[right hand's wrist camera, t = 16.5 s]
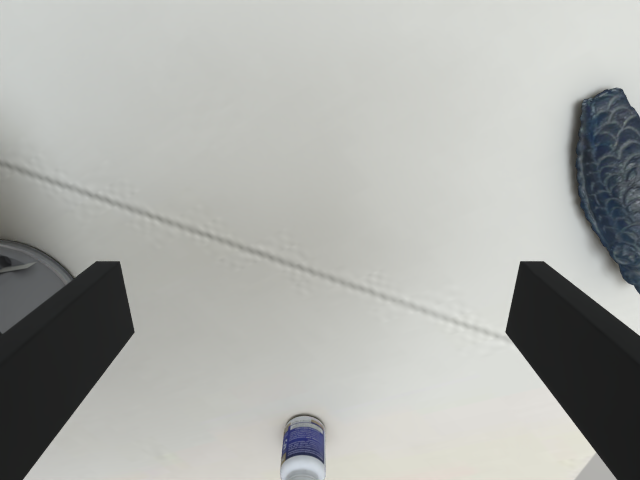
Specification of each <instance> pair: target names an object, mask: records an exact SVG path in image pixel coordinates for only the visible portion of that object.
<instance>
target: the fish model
mask: <svg viewBox="0 0 640 480" xmlns="http://www.w3.org/2000/svg"><path fill="white" fill-rule="evenodd" d="M581 109H582V115H581V117H580V120H581V127H580V130H579V133H578V135H579V138H580V139H579V142H578V144H577V148H576V153H577V155H578V156H577V159H576V165H575V167H576V168H577V171H578V173H577V181H578V183H579V186H578V191H579V196H580V197H581V204H580V206H581V208H582V209H583V210H584V211H585V217H586V219H587V220H588V221H589V222H590V223H591V224H592V229H593V231H595V232H596V234H597V235H598V236H599V238H600V240H601V242H602V243H603V246H605V247H606V248H607V250H608V251H609V254H610V256H611V257H612V258H613V259H614V260H615V261H616V262H617V263H618V264H619V267H620V271H621V274H622V276H623V279H624V280H625V281H626V282H628V283H629V284H631V285H634V287H635V288H636V290H637V291H638V293H639V294H640V117H639V115H638V113H637V112H636V111H635V109H634V108H633V107H631V106H630V104H629V102H628V100H627V97H626V95H625V94H624V92H623V90H622V89H620V88H613V89H610V90H608V89H607V90H604V91H603V92H601V93H599V94H598V95H596V96H595V97H594V98H589V99H584V100H583V103H582V108H581Z"/></svg>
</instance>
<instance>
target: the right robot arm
mask: <svg viewBox="0 0 640 480" xmlns="http://www.w3.org/2000/svg"><path fill="white" fill-rule="evenodd" d="M133 334H134V327H133V322H132V318H131V313H130V308H129V303H128V299H127V294H126V289H125V284H124V279H123V275H122V270H121V265H120V261H96V262H95V263H94V264H92V265H91V266H90V267H88V268H87V269H86V270H85V271H83V272H82V273H81V274H79V275H78V276H77V277H76V278H73V277H72V276H71V275H70V274H69V273H68V272H67V271H66V269H65V268H64V267H62V266H61V265H60V264H59V263H58V262H56V261H55V260H54V259H52V258H51V257H49V256H48V255H46V254H45V253H43V252H41V251H39V250H37V249H35V248H33V247H30V246H28V245H25V244H22V243H18V242H14V241H8V240H0V480H23V479H24V477H25V476H26V475H27V473H28V472H29V471H30V469H31V468H32V467H33V466H34V464H35V463H36V462H37V460H38V459H39V458H40V456H41V455H42V454H43V452H44V451H45V450H46V448H47V447H48V446H49V444H50V443H51V442H52V440H53V439H54V438H55V437H56V435H57V434H58V433H59V431H60V430H61V429H62V427H63V426H64V425H65V423H66V422H67V421H68V419H69V418H70V417H71V415H72V414H73V413H74V411H75V410H76V409H77V408H78V406H79V405H80V404H81V402H82V401H83V400H84V398H85V397H86V396H87V394H88V393H89V392H90V390H91V389H92V388H93V386H94V385H95V384H96V382H97V381H98V380H99V379H100V377H101V376H102V375H103V373H104V372H105V371H106V369H107V368H108V367H109V365H110V364H111V363H112V361H113V360H114V359H115V357H116V356H117V355H118V353H119V352H120V351H121V350H122V348H123V347H124V346H125V344H126V343H127V342H128V340H129V339H130V338H131V336H132V335H133ZM506 334H507V335H508V336H509V338H510V339H511V340H512V342H513V343H514V344H515V346H516V347H517V348H518V350H519V351H520V352H521V353H522V355H523V356H524V357H525V359H526V360H527V361H528V363H529V364H530V365H531V367H532V368H533V369H534V371H535V372H536V373H537V375H538V376H539V377H540V379H541V380H542V381H543V382H544V384H545V385H546V386H547V388H548V389H549V390H550V392H551V393H552V394H553V396H554V397H555V398H556V400H557V401H558V402H559V404H560V405H561V406H562V408H563V409H564V410H565V411H566V413H567V414H568V415H569V417H570V418H571V419H572V421H573V422H574V423H575V425H576V426H577V427H578V429H579V430H580V431H581V433H582V434H583V435H584V437H585V438H586V439H587V440H588V442H589V443H590V444H591V446H592V447H593V448H594V450H595V451H596V452H597V454H598V455H599V456H600V458H601V459H602V460H603V462H604V463H605V464H606V466H607V467H608V468H609V469H610V471H611V472H612V473H613V475H614V476H615V477H616V479H617V480H640V336H639V335H638V334H637V333H635V332H634V331H633V330H631V329H630V328H629V327H628V326H626V325H625V324H624V323H622V322H621V321H620V320H619V319H617V318H616V317H615V316H613V315H612V314H611V313H610V312H608V311H607V310H606V309H604V308H603V307H602V306H600V305H599V304H598V303H597V302H595V301H594V300H593V299H591V298H590V297H589V296H588V295H586V294H585V293H584V292H582V291H581V290H580V289H579V288H577V287H576V286H575V285H573V284H572V283H571V282H570V281H568V280H567V279H566V278H564V277H563V276H562V275H561V274H559V273H558V272H557V271H555V270H554V269H553V268H552V267H550V266H549V265H548V264H546V263H545V262H544V261H520V265H519V270H518V275H517V279H516V284H515V289H514V294H513V299H512V303H511V308H510V313H509V318H508V322H507V327H506Z"/></svg>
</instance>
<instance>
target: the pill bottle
mask: <svg viewBox="0 0 640 480" xmlns="http://www.w3.org/2000/svg"><path fill="white" fill-rule="evenodd" d="M325 476H326V460H325V428H324V426H323V424H322V423H321V422H320V421H319V420H317V419H316V418H313V417H310V416H299V417H296V418H294V419H292V420H290V421H289V422H288V423H287V425H286V427H285V430H284V439H283V448H282V457H281V468H280V477H281V480H325Z"/></svg>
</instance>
